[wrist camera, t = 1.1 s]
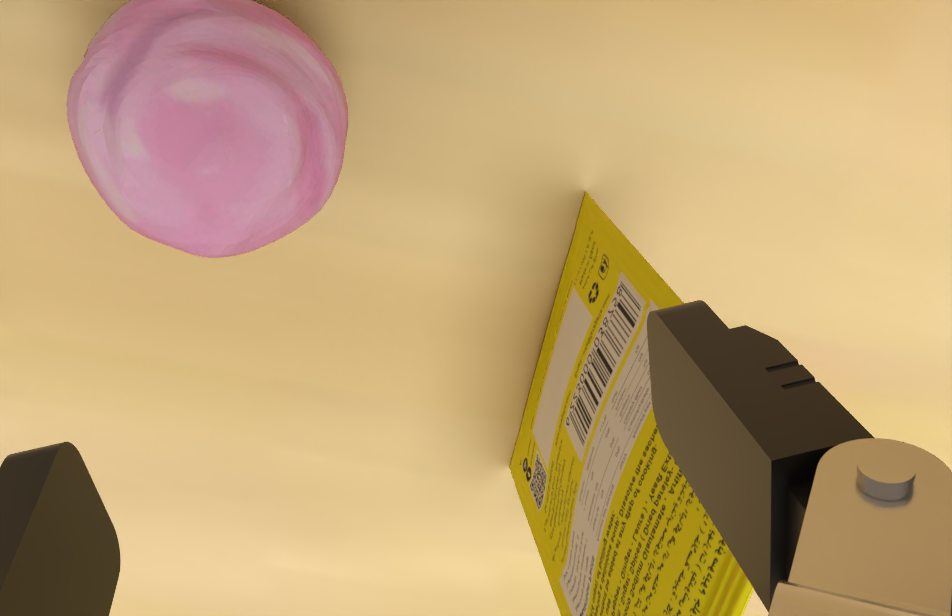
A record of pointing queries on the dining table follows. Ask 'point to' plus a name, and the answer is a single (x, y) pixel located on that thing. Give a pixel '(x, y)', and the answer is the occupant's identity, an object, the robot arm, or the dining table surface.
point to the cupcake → (208, 123)
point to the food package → (613, 451)
